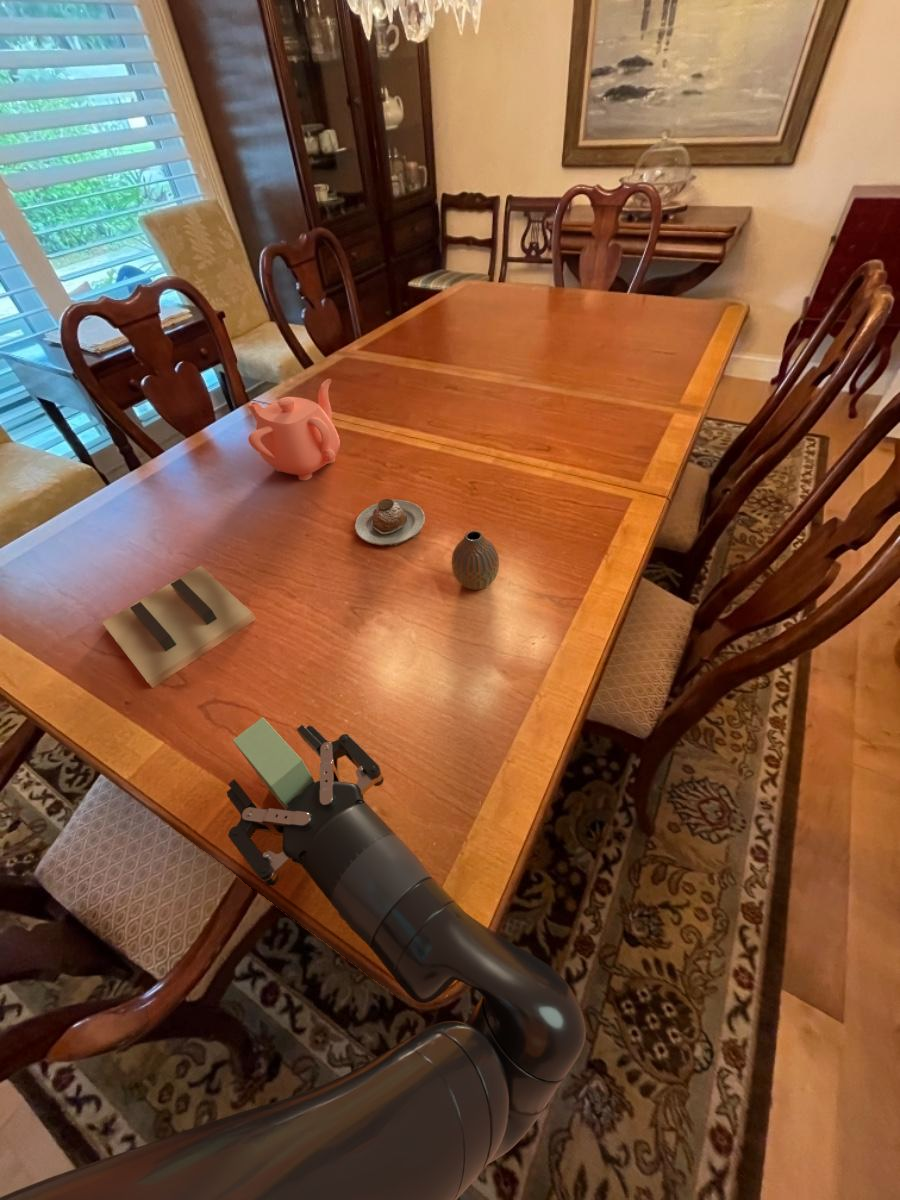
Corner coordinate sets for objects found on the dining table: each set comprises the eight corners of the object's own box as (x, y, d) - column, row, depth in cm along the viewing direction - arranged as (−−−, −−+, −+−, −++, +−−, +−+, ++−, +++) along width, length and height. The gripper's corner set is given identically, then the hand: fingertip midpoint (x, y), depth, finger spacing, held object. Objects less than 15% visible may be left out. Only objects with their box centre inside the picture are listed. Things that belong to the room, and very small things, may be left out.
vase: (500, 595, 78) (499, 550, 72) (453, 598, 78) (448, 553, 72) (498, 563, 83) (497, 518, 76) (453, 566, 83) (449, 521, 77)
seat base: (152, 688, 71) (139, 672, 69) (107, 629, 80) (94, 613, 77) (255, 619, 78) (247, 603, 76) (204, 572, 87) (195, 555, 84)
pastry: (414, 498, 96) (411, 476, 93) (434, 537, 88) (431, 515, 85) (350, 515, 94) (344, 493, 91) (364, 557, 86) (358, 534, 83)
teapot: (265, 451, 112) (242, 388, 103) (344, 435, 114) (329, 373, 105) (265, 493, 101) (240, 427, 92) (354, 475, 103) (338, 409, 94)
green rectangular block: (304, 832, 56) (270, 786, 48) (268, 789, 60) (231, 740, 52) (330, 807, 58) (302, 759, 50) (294, 767, 62) (262, 716, 54)
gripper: (423, 795, 47) (315, 692, 56) (288, 931, 41) (189, 790, 49) (432, 827, 52) (332, 729, 61) (313, 952, 46) (220, 822, 54)
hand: (268, 756), depth 55 cm, fingers open, 7 cm apart
